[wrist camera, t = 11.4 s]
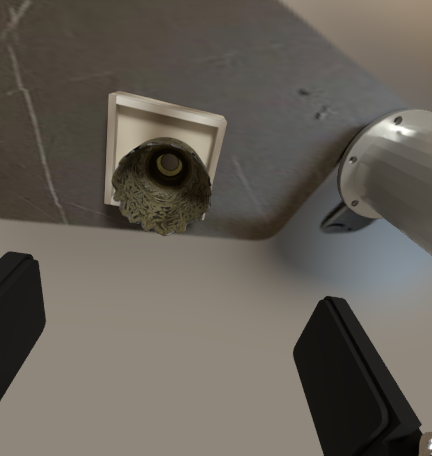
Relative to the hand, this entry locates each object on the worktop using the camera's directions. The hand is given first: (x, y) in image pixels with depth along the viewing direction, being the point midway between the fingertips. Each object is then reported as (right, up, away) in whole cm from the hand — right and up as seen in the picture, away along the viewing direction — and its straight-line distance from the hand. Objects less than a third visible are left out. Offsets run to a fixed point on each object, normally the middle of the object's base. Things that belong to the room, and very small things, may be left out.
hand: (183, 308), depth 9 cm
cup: (-3, +9, +18) cm, 21 cm away
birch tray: (-4, +11, +20) cm, 23 cm away
